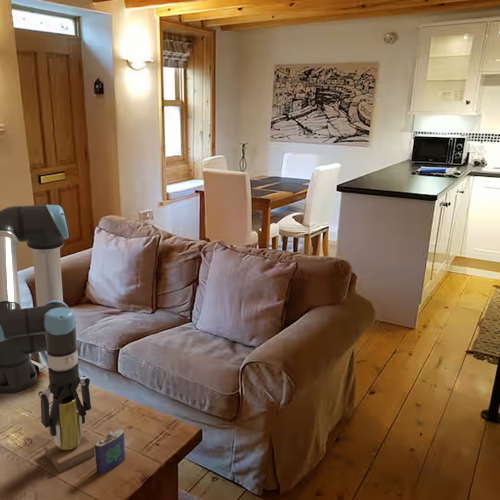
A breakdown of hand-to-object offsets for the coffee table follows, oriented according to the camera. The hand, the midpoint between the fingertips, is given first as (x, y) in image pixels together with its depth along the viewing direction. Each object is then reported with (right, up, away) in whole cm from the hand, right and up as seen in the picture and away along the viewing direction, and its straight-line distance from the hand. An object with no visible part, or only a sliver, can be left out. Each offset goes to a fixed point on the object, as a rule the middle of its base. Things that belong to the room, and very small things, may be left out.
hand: (68, 438), depth 133 cm
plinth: (0, -5, +1) cm, 5 cm away
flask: (+13, -7, -2) cm, 15 cm away
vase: (0, -2, 0) cm, 2 cm away
